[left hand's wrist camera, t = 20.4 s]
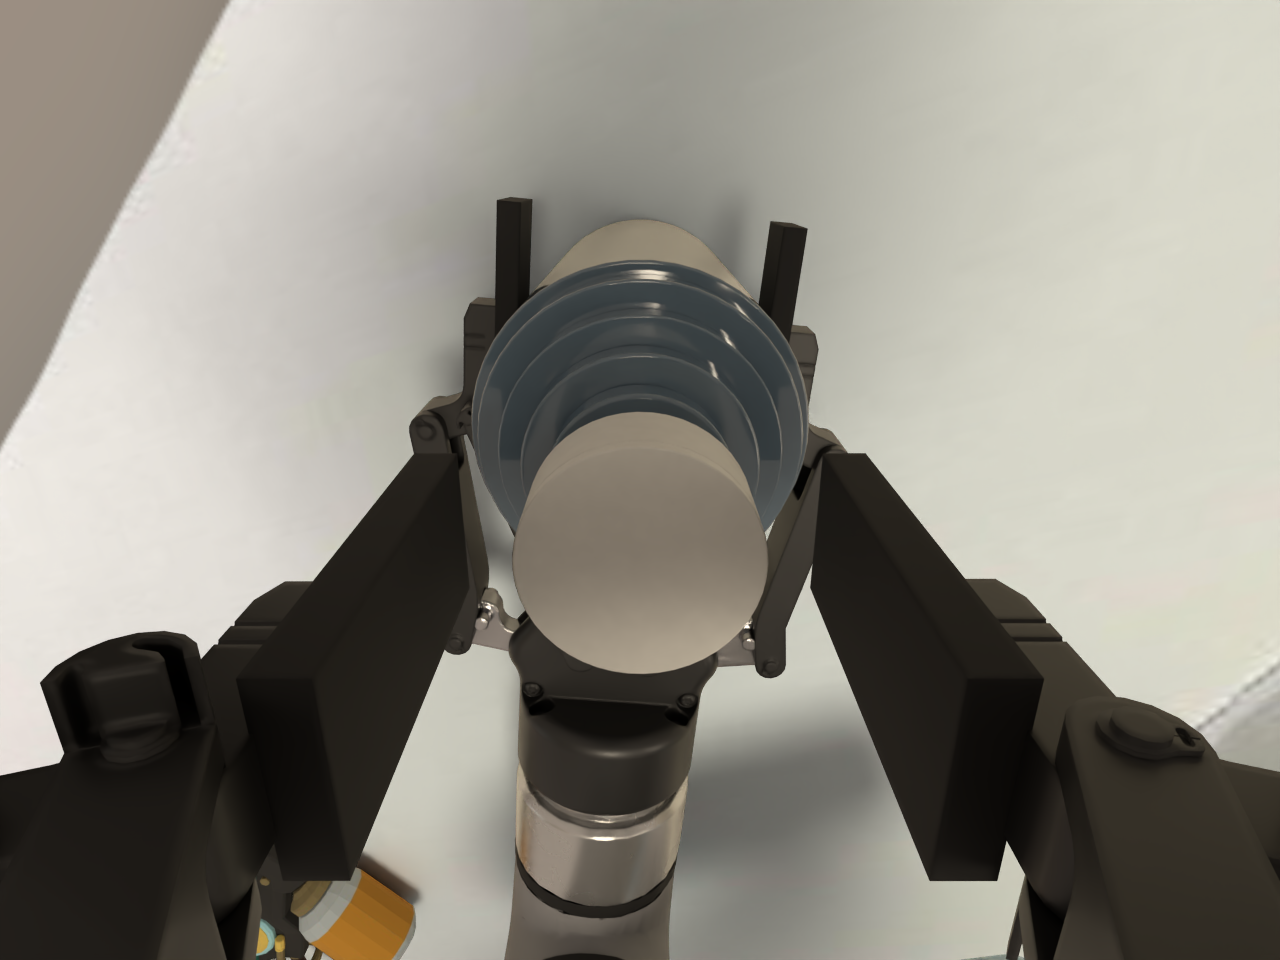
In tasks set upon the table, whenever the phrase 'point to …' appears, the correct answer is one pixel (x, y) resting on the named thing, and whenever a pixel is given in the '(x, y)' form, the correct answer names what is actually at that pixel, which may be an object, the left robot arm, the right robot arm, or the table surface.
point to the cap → (640, 545)
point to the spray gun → (331, 917)
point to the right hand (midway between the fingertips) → (652, 212)
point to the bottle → (640, 363)
